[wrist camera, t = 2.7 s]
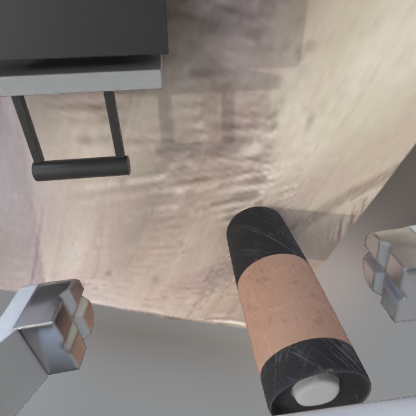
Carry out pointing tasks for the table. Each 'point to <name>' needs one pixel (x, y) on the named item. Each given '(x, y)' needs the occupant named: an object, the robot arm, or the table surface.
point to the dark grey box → (81, 28)
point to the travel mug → (291, 320)
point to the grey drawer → (78, 83)
